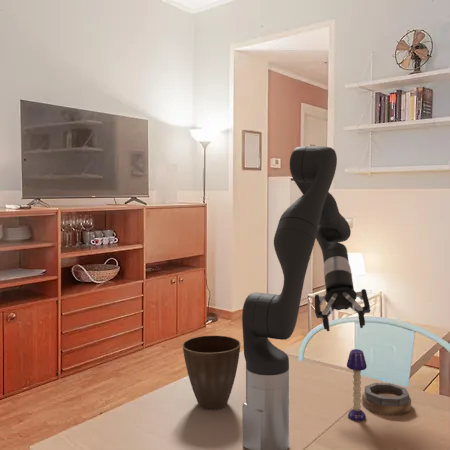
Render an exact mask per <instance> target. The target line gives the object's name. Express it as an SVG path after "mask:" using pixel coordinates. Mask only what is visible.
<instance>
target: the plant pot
mask: <svg viewBox="0 0 450 450" xmlns="http://www.w3.org/2000/svg"><path fill="white" fill-rule="evenodd" d="M182 351H183V357H184V362H185V367H186V371H187V375H188V379H189V381H190V386H191V388H192V391H193V394H194V396H195V400H196V401H197V404H198V406H199V407H200V408H202V409H205V410H214V411H215V410H219V409H223V408H225V407H226V406H227V405H228V402H229V399H230V397H231V394H232V390H233V387H234V382H235V381H236V375H237V372H238V371H237V369H238V365H239V360H240V353H241V342H240V341H239V340H238V338H235V337H230V336H224V335H203V336H202V335H201V336H196V337H192V338H189V339H187V340H185V341H184V342H183V343H182Z"/></svg>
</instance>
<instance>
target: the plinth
mask: <svg viewBox="0 0 450 450" xmlns="http://www.w3.org/2000/svg"><path fill="white" fill-rule="evenodd" d="M361 403H362V406H363V407H364V408H365V409H366V410H368V411H370V412H372V413H375V414H379V415H383V416H403V415H407V414H408V413H409V412H411V410H412V399H411V397H410V394H409V392H408V390H407V388H406V387H403V386H399V385H397V384H394V383H390V382H389V383H387V382H386V383H385V382H373V383H370V384H368V385H365V386H364V392H363V393H362V394H361Z"/></svg>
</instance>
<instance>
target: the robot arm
mask: <svg viewBox="0 0 450 450" xmlns="http://www.w3.org/2000/svg"><path fill="white" fill-rule="evenodd" d="M337 164H338V158H337V153H336V150H335V149H334V148H332V147H329V146H315V145H313V146H305V145H304V146H297V147H295V148H294V149H293V150H292V151H291V154H290V157H289V172H290V175H291V178H292V180H293V181H294V183H295V185H296V186H297V187H298V189H299V191H300V192H301V193H302V195H301V196H299V198H298V199H297V200H295V201H294V202H293V203H291V204H290V206H288V207H287V208H286V209H285V210H284V211H283V213H282V214H281V216H280V218H279V220H278V224H277V227H276V231H275V234H274V237H273V249H274V251H275V254H276V258H277V260H278V262H279V264H280V267H281V270H282V271H281V272H282V274H283V285H282V289H281V292H280V293H279V294H276V293H275V294H273V293H264V292H252V293H250V294H249V295H247V297H246V298H245V300H244V303H243V306H242V313H241V315H242V316H241V324H242V325H241V327H242V339H243V340H242V341H243V356H244V360H245V402H243V403H242V405H241V406H242V416H241V417H242V447H244V448H246V449H247V450H289V447H290V446H289V445H290V415H289V414H290V411H289V410H290V359H289V356H288V354H287V353H286V352H285V351H284V350H282V349H280V348H279V347H277V346H275V345H274V344H273V343H272V342H271V341H270V339H275V340H281V341H282V340H288V339H290V338H291V336H292V334H293V333H294V331H295V329H296V326H297V321H298V316H299V311H300V305H301V300H302V293H303V290H304V289H303V288H304V284H305V277H306V274H307V269H308V266H309V264H310V259H311V256H312V252H313V249H314V247H315V242H317V243H318V245H319V248H320V250H321V254H322V258H323V276H324V277H323V278H324V286H325V288H324V289H325V295H321V296H320V295H319V294H315V295H314V314H315V317H316V318H317V319H322V325H323V329H324V330H326V332H330V331H331V330H330V323H329V322H330V321H329V317H330V316H331V314H333V312H334V311H341V310H349V309H351V310H352V311H354V312H355V313H357V315H358V322H359V328H360V329H363V328H364V326H366V319H365V314H369V313H370V312H371V306H370V301H369V297H368V293H367V290H366V288H365V289H364V288H363V289H361V291H355V289H354V288H355V287H354V282H353V274H352V273H353V272H352V269H351V265H350V262H349V255H348V248H347V246H346V245H345V244H343V243H342V242H346V241H348V239H349V238H350V237H351V231H352V230H351V227H350V224H349V223H348V221H347V219H346V218H345V217H344V216H343V215H342V214H341V213H340V210H339V207H338V203H337V201H336V199H335V198H334V196H333V195H332V193H330V192H329V191H330V188H331V186H332V183H333V180H334V177H335V175H336V170H337ZM357 298H359V300H360V301H363V305H364V306H361V305H360V304H359V303H358V301H356V299H357ZM324 301H325V302H326V305H325V307H324V309H323V311H321V309H322V308H321V305H323V303H324Z"/></svg>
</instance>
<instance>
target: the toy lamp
mask: <svg viewBox="0 0 450 450" xmlns="http://www.w3.org/2000/svg"><path fill="white" fill-rule="evenodd" d="M367 366H368V365H367V362H366V358H365V354H364V351H363V350H361V349H358V348H357V349H356V348H354V349H351V350H350V352H349V355H348V358H347V363H346V368H348V369H349V370H351V371H353V374H352V376H353V381H352V383H353V386H352V388H353V389H352V391H353V394H352V397H353V400H352V402H353V403H352V404H353V406H352V409H351V410H349V412H348V414H347V417H348V419H349V420H351V421H353V422H363V421H365V420H366V419H367V415H366V414H365V412H364V410H362V409H361V403H362V399H361V398H362V394H361V391H362V387H361V384H362V381H361V379H362V376H361V371H365V370H366V369H367Z"/></svg>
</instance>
